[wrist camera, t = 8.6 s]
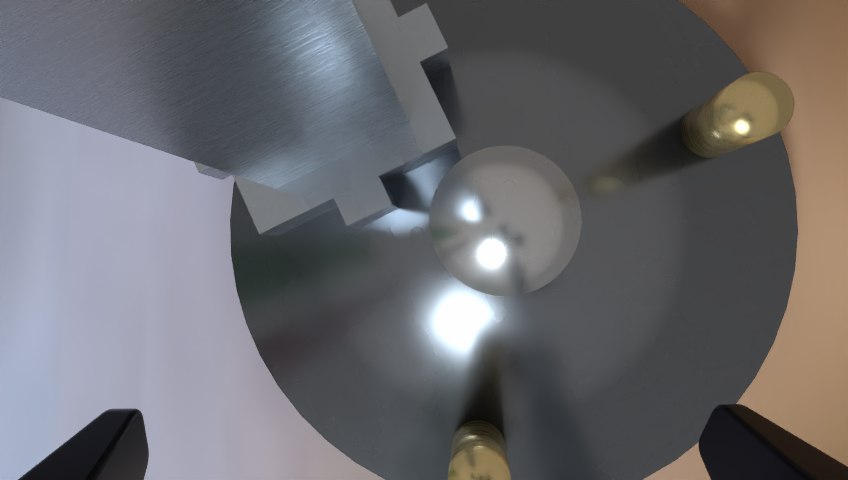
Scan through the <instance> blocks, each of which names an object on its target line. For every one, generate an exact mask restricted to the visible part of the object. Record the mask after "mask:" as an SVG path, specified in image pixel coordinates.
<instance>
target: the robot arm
mask: <svg viewBox="0 0 848 480" xmlns="http://www.w3.org/2000/svg"><path fill="white" fill-rule="evenodd" d="M699 451H700V455H701V457H702V460H703V462H704V464H705V467H706V469H707V471H708V474H709V476H710V478H711V480H848V467H847V466H845V465H844V464H842V463H840V462H839V461H837V460H835V459H834V458H832V457H830V456H829V455H827V454H825V453H824V452H822V451H820V450H818V449H817V448H815V447H813V446H812V445H810V444H808V443H807V442H805V441H803V440H802V439H800V438H798V437H797V436H795V435H793V434H791V433H790V432H788V431H786V430H785V429H783V428H781V427H780V426H778V425H776V424H775V423H773V422H771V421H770V420H768V419H766V418H764V417H763V416H761V415H759V414H758V413H756V412H754V411H753V410H751V409H749V408H748V407H746V406H743V405H739V404H721V405H717V406H716V407H715V408H714V409H713V410H712V412H711V414H710V417H709V419H708V421H707V423H706V425H705V427H704V430H703V432H702V434H701V436H700V439H699ZM148 457H149V450H148V443H147V438H146V432H145V426H144V420H143V416H142V413H141V412H140V411H139V410H138V409H110V410H107V411H105V412H104V413H102V414H101V415H100V416H98V417H97V418H96V419H94V420H93V421H92V422H91V423H89V424H88V425H87V426H86V427H84V428H83V429H82V430H80V431H79V432H78V433H77V434H75V435H74V436H73V437H72V438H70V439H69V440H68V441H67V442H65V443H64V444H63V445H61V446H60V447H59V448H58V449H56V450H55V451H54V452H53V453H51V454H50V455H49V456H47V457H46V458H45V459H44V460H42V461H41V462H40V463H39V464H37V465H36V466H35V467H34V468H32V469H31V470H30V471H28V472H27V473H26V474H25V475H23V476H22V477H21V478H20V479H18V480H144V476H145V473H146V469H147V464H148Z"/></svg>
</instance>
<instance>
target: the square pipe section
mask: <svg viewBox="0 0 848 480" xmlns="http://www.w3.org/2000/svg"><path fill="white" fill-rule="evenodd" d="M449 66H450V58H449V50H448V46H447V44H446V42H445V40H444V38H443V36H442V34H441V32H440V30H439V27H438V25H437V23H436V21H435V19H434V17H433V15H432V13H431V11H430V9H429V7H428V5H427V3H426V4H424V5H422V6H420V7H418V8H416V9H414V10H412V11H410V12H408V13H406V14H404V15H402V16H400V17H398V16H397V14H396V12H395V10H394V8H393V6H392V3H391V1H390V0H0V97H2V98H5V99H8V100H11V101H14V102H17V103H20V104H23V105H26V106H29V107H32V108H35V109H38V110H41V111H44V112H47V113H50V114H53V115H56V116H59V117H62V118H65V119H68V120H71V121H74V122H77V123H80V124H83V125H86V126H89V127H92V128H95V129H98V130H101V131H104V132H107V133H110V134H113V135H116V136H119V137H122V138H125V139H128V140H131V141H134V142H137V143H140V144H143V145H146V146H149V147H152V148H155V149H158V150H161V151H164V152H167V153H170V154H173V155H176V156H179V157H182V158H185V159H188V160H191V161H194V163H195V165H196V167H197V169H198V172H199V173H202V174H205V175H208V176H212V177H215V178H218V179H224V178H226V177H228V176H230V175H232V174H233V177H234V179H235V181H236V183H237V186H238V188H239V190H240V192H241V195H242V197H243V199H244V201H245V204H246V206H247V208H248V210H249V212H250V215H251V217H252V219H253V221H254V224H255V226H256V228H257V230H258V233H259V234H262V235H273V236H279V235H281V234H283V233H285V232H287V231H289V230H291V229H293V228H295V227H297V226H299V225H301V224H303V223H305V222H307V221H309V220H311V219H314V218H316V217H318V216H320V215H322V214H324V213H326V212H328V211H330V210H332V209H334V208H336V207H338V208H339V210H340V212H341V215H342V217H343V219H344V221H345V223H346V226H348V227H353V228H357V229H358V228H360V227H362V226H364V225H366V224H369V223H371V222H373V221H375V220H377V219H379V218H381V217H383V216H385V215H387V214H389V213H391V212H393V211H396V210H398V209H399V207H398V205H397V203H396V201H395V199H394V197H393V194H392V192H391V190H390V188H389V186H388V184H387V183H388V182H390V181H392V180H394V179H396V178H398V177H400V176H402V175H404V174H406V173H408V172H410V171H412V170H414V169H416V168H418V167H420V166H423V165H425V164H427V163H429V162H431V161H433V160H435V159H437V158H439V157H441V156H443V155H445V154H447V153H449V152H451V151H453V150H455V149H457V148H458V147H457V140H456V137H455V135H454V133H453V131H452V128H451V126H450V124H449V122H448V120H447V118H446V116H445V114H444V112H443V110H442V108H441V106H440V103H439V101H438V99H437V97H436V95H435V93H434V91H433V89H432V87H431V85H430V83H429V81H428V78H427V77H429V76H431V75H433V74H435V73H437V72H439V71H441V70H443V69H445V68H447V67H449Z"/></svg>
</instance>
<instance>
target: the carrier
mask: <svg viewBox="0 0 848 480" xmlns="http://www.w3.org/2000/svg"><path fill="white" fill-rule="evenodd" d="M390 1H391V3H392V6H393V8H394V10H395V12H396V14H397V16H398V17H400V16H402V15H404V14H406V13H408V12H410V11H412V10H414V9H416V8H418V7H420V6H422V5H424V4H426V3H427V5H428V7H429V9H430V11H431V13H432V15H433V17H434V19H435V21H436V23H437V25H438V27H439V30H440V32H441V34H442V36H443V38H444V40H445V42H446V44H447V46H448V50H449V58H450V66H449V67H447V68H445V69H443V70H441V71H439V72H437V73H435V74H433V75H431V76H429V77H427V78H428V81H429V83H430V85H431V87H432V89H433V91H434V93H435V95H436V97H437V99H438V101H439V103H440V106H441V108H442V110H443V112H444V114H445V116H446V118H447V120H448V122H449V124H450V126H451V128H452V131H453V133H454V135H455V137H456V140H457V147H458V148H457V149H455V150H453V151H451V152H449V153H447V154H445V155H443V156H441V157H439V158H437V159H435V160H433V161H431V162H429V163H427V164H425V165H423V166H420V167H418V168H416V169H414V170H412V171H410V172H408V173H406V174H404V175H402V176H400V177H398V178H396V179H394V180H392V181H390V182H388V183H387V184H388V186H389V188H390V190H391V192H392V194H393V197H394V199H395V201H396V203H397V205H398V207H399V209H398V210H396V211H393V212H391V213H389V214H387V215H385V216H383V217H381V218H379V219H377V220H375V221H373V222H371V223H369V224H366V225H364V226H362V227H360V228H358V229H357V228H353V227H348V226H346V223H345V221H344V219H343V217H342V215H341V212H340V210H339V208H338V207H336V208H334V209H332V210H330V211H328V212H326V213H324V214H322V215H320V216H318V217H316V218H314V219H311V220H309V221H307V222H305V223H303V224H301V225H299V226H297V227H295V228H293V229H291V230H289V231H287V232H285V233H283V234H281V235H279V236H273V235H262V234H259V233H258V230H257V228H256V226H255V224H254V221H253V219H252V217H251V215H250V212H249V210H248V208H247V206H246V204H245V201H244V199H243V197H242V195H241V192H240V190H239V188H238V186H237V183H236V181H235V182H234V187H233V197H232V208H231V218H230V227H231V256H232V263H233V269H234V276H235V282H236V288H237V292H238V296H239V299H240V303H241V306H242V310H243V313H244V317H245V320H246V324H247V326H248V328H249V330H250V333H251V335H252V337H253V340H254V342H255V344H256V347H257V349H258V351H259V354H260V356H261V358H262V359H263V361H264V363H265V364H266V366H267V368H268V369H269V371H270V373H271V374H272V376H273V378H274V380H275V381H276V383H277V385H278V386H279V388H280V389H281V390H282V391H283V393H284V394H285V395H286V397H287V398H288V399H289V400H290V402H291V403H292V404H293V406H294V407H295V408H296V409H297V411H298V412H299V413H300V415H301V416H302V417H303V418H304V419H305V420H307V421H308V422H309V423H310V424H311V425H312V426H313V427H314V428H315V429H316V430H317V431H318V432H319V433H320V434H321V435H322V436H323V437H324V438H325V439H326V440H327V441H328V442H329V443H331V444H332V445H333V446H335V447H336V448H337V449H339V450H340V451H341V452H343V453H344V454H345V455H346V456H348V457H349V458H350V459H352V460H353V461H354V462H356V463H358V464H359V465H361V466H363V467H364V468H366V469H368V470H370V471H371V472H373V473H375V474H377V475H378V476H380V477H382V478H383V479H385V480H643V479H644V478H646V477H648V476H649V475H651V474H653V473H655V472H656V471H658V470H660V469H661V468H663V467H665V466H667V465H668V464H670V463H672V462H673V461H675V460H676V459H678V458H679V457H680V456H681V455H683V454H684V453H685V452H686V451H688V450H689V449H690V448H692V447H693V446H694V445H695V444H697V443H698V442H699V439H700V436H701V434H702V432H703V430H704V427H705V425H706V423H707V421H708V419H709V417H710V414H711V412H712V410H713V409H714V408H715V407H716V406H717V405H721V404H736V403H737V402H738V400H739V399H740V397H741V396H742V395H743V393H744V392H745V391H746V389H747V388H748V387H749V385H750V384H751V382H752V381H753V380H754V378H755V377H756V375H757V373H758V371H759V369H760V367H761V365H762V364H763V362H764V360H765V358H766V356H767V354H768V352H769V351H770V349H771V347H772V345H773V343H774V340H775V337H776V335H777V332H778V329H779V327H780V324H781V321H782V319H783V316H784V313H785V310H786V308H787V303H788V299H789V294H790V290H791V285H792V281H793V276H794V271H795V261H796V248H797V235H798V226H797V210H796V194H795V188H794V183H793V179H792V174H791V169H790V164H789V159H788V154H787V152H786V149H785V146H784V143H783V140H782V137H781V135H780V132H779V131H781V130H782V129H783V128H784V127H785V126H786V125H787V124H788V122H789V121H790V119H791V117H792V114H793V111H794V98H793V94H792V92H791V90H790V88H789V87H788V85H787V84H786V83H785V82H784V81H783V80H782V79H781V78H779V77H777V76H775V75H773V74H770V73H766V72H753V73H749V72H748V71H747V69H746V68H745V67H744V65H743V64H742V62H741V61H740V60H739V58H738V57H737V55H736V54H735V53H734V52H733V51H732V50H731V48H730V47H729V46H728V45H727V44H726V43H725V42H724V41H723V40H722V39H721V38H720V37H719V36H718V34H717V33H716V32H715V31H714V30H713V29H712V28H711V27H710V26H709V25H708V24H707V23H705V22H704V21H703V20H702V19H700V18H699V17H698V16H697V15H696V14H694V13H693V12H692V11H691V10H690V9H688V8H687V7H686V6H685V5H683V4H682V3H681V2H680V1H678V0H390Z"/></svg>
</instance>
